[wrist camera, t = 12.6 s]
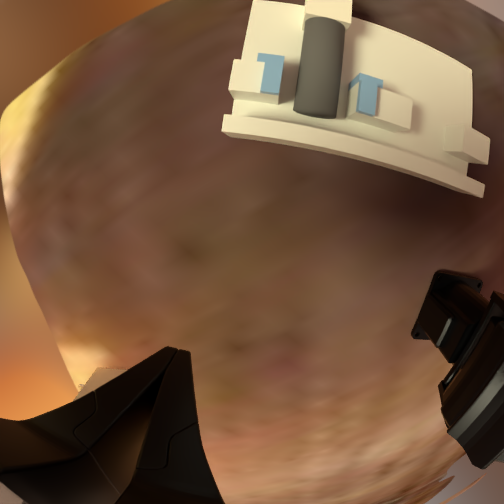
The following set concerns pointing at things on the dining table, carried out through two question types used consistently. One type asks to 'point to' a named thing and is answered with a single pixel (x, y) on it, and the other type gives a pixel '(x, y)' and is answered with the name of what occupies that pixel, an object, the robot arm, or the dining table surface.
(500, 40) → the dining table surface
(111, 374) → the architectural model
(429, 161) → the backplate with stepped blocks
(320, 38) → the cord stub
